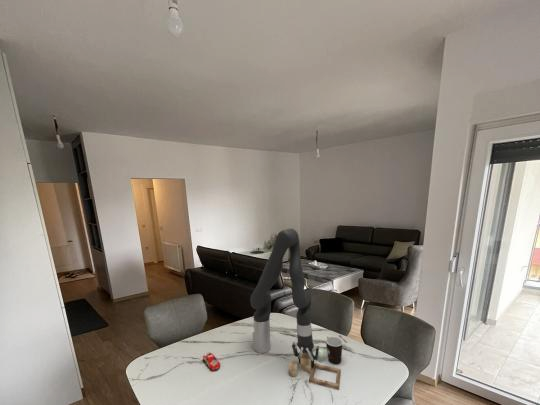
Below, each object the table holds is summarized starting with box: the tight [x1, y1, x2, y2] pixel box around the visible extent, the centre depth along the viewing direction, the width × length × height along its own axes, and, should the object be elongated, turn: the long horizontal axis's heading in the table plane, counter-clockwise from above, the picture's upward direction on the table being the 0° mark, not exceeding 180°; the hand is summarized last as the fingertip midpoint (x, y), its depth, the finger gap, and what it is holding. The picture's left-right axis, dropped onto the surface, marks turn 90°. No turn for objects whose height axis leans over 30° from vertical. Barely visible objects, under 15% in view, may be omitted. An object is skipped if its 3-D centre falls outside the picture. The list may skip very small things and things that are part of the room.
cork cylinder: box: [288, 360, 298, 378], centre depth 113 cm, size 4×4×5 cm
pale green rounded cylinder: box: [316, 346, 325, 363], centre depth 123 cm, size 4×4×5 cm
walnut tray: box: [308, 363, 342, 391], centre depth 111 cm, size 14×12×2 cm
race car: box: [202, 352, 221, 372], centre depth 122 cm, size 13×5×4 cm, turn 39°
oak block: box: [300, 353, 312, 374], centre depth 117 cm, size 5×5×6 cm
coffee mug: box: [325, 336, 344, 366], centre depth 124 cm, size 12×9×10 cm
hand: (306, 365), depth 117 cm, fingers closed on oak block, 5 cm apart
